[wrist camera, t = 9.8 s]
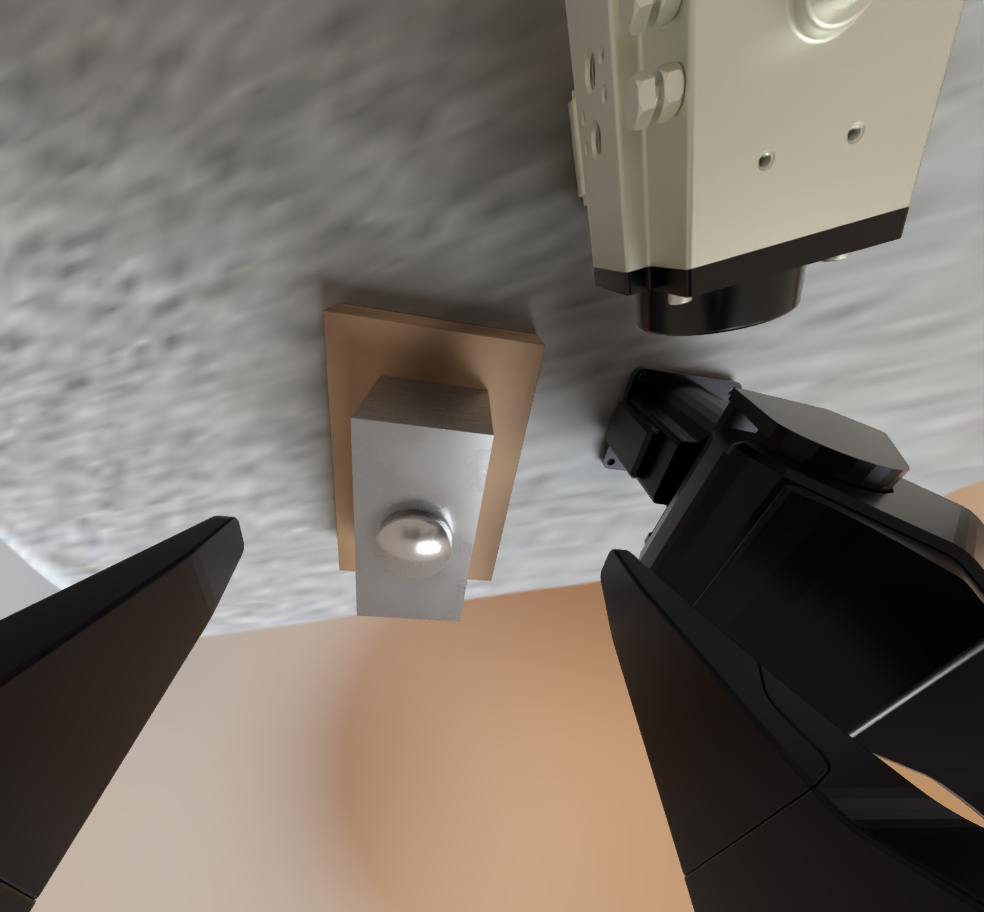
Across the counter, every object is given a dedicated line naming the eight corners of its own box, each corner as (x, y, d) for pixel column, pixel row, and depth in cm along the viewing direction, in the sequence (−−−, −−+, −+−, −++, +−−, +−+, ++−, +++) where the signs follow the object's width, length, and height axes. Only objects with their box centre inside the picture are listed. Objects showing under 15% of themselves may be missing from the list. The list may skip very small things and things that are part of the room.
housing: (461, 551, 23) (459, 635, 18) (378, 544, 23) (352, 629, 18) (488, 389, 18) (495, 445, 13) (380, 374, 17) (343, 427, 12)
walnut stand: (536, 334, 19) (545, 345, 17) (489, 554, 27) (491, 580, 25) (340, 303, 18) (323, 310, 16) (350, 542, 26) (339, 570, 23)
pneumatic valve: (663, -98, 12) (1754, -2040, 2) (668, 275, 18) (937, 313, 8) (505, -38, 13) (662, -1320, 2) (559, 306, 18) (674, 382, 8)
